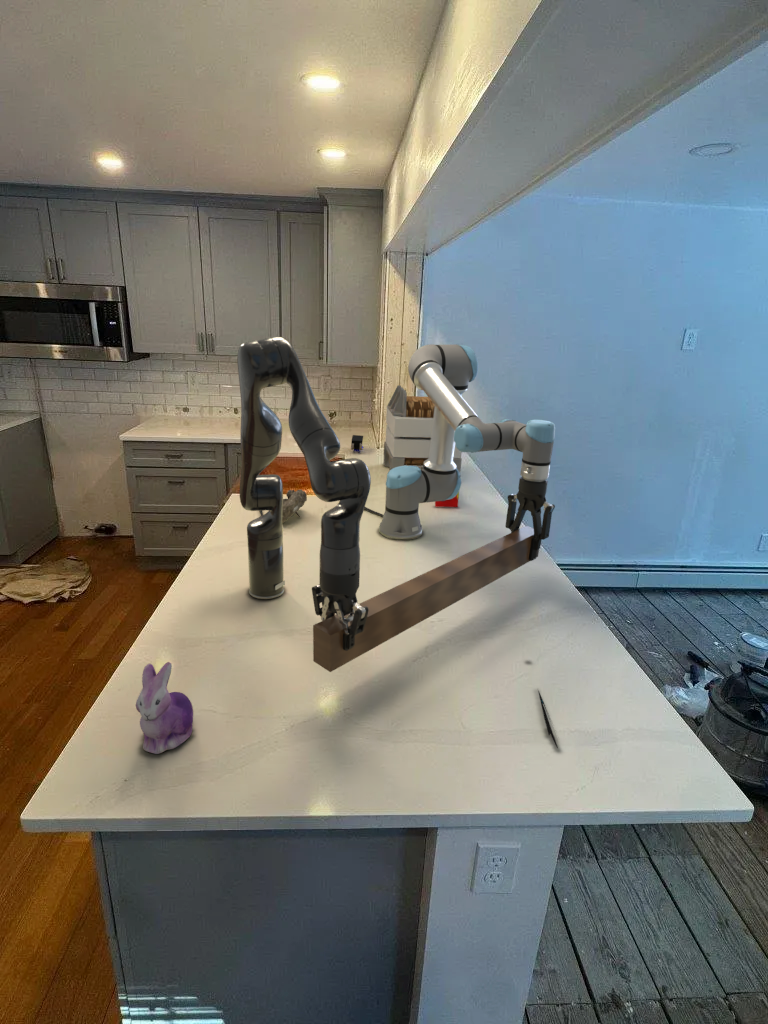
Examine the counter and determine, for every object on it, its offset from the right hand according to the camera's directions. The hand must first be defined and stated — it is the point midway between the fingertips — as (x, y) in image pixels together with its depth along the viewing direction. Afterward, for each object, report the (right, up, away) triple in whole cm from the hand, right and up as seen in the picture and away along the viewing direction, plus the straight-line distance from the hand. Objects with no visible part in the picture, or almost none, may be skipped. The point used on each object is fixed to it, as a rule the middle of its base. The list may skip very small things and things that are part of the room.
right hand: (523, 556), depth 162 cm
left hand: (-49, -13, -50) cm, 71 cm away
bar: (-25, -8, -25) cm, 36 cm away
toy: (-15, +19, +80) cm, 83 cm away
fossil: (-75, +11, +49) cm, 90 cm away
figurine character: (-55, +46, +150) cm, 166 cm away
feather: (-8, -26, -45) cm, 53 cm away
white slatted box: (-23, +31, +113) cm, 120 cm away
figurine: (-79, -28, -59) cm, 103 cm away
